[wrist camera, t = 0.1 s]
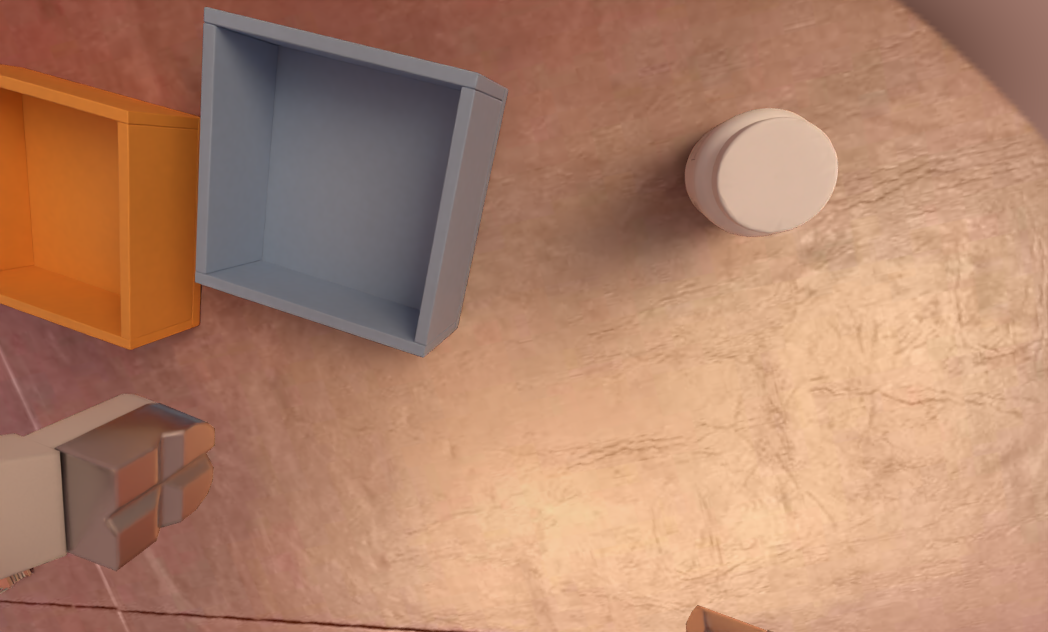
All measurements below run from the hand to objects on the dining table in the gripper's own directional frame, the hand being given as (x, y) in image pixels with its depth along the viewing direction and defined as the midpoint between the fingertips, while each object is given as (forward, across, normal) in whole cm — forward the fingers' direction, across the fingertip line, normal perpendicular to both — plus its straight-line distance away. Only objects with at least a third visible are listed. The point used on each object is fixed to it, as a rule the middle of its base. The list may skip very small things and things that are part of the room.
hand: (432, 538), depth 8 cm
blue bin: (+19, +12, -2) cm, 22 cm away
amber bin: (+19, +28, +3) cm, 34 cm away
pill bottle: (+19, -5, -7) cm, 21 cm away
